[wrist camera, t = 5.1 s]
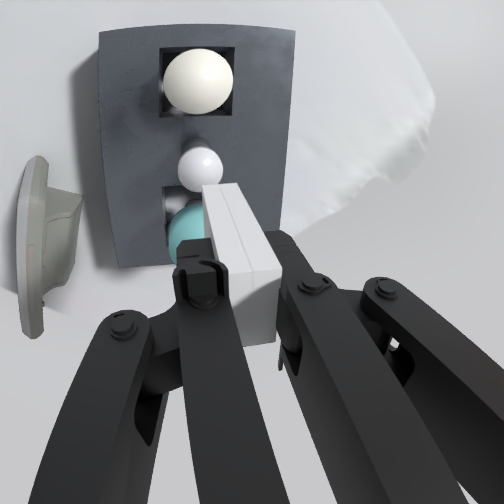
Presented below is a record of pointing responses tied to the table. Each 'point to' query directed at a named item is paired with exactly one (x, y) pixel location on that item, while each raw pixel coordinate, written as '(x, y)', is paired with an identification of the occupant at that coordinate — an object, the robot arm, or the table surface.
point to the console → (189, 126)
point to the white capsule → (198, 165)
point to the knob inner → (198, 81)
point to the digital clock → (43, 242)
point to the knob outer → (186, 226)
